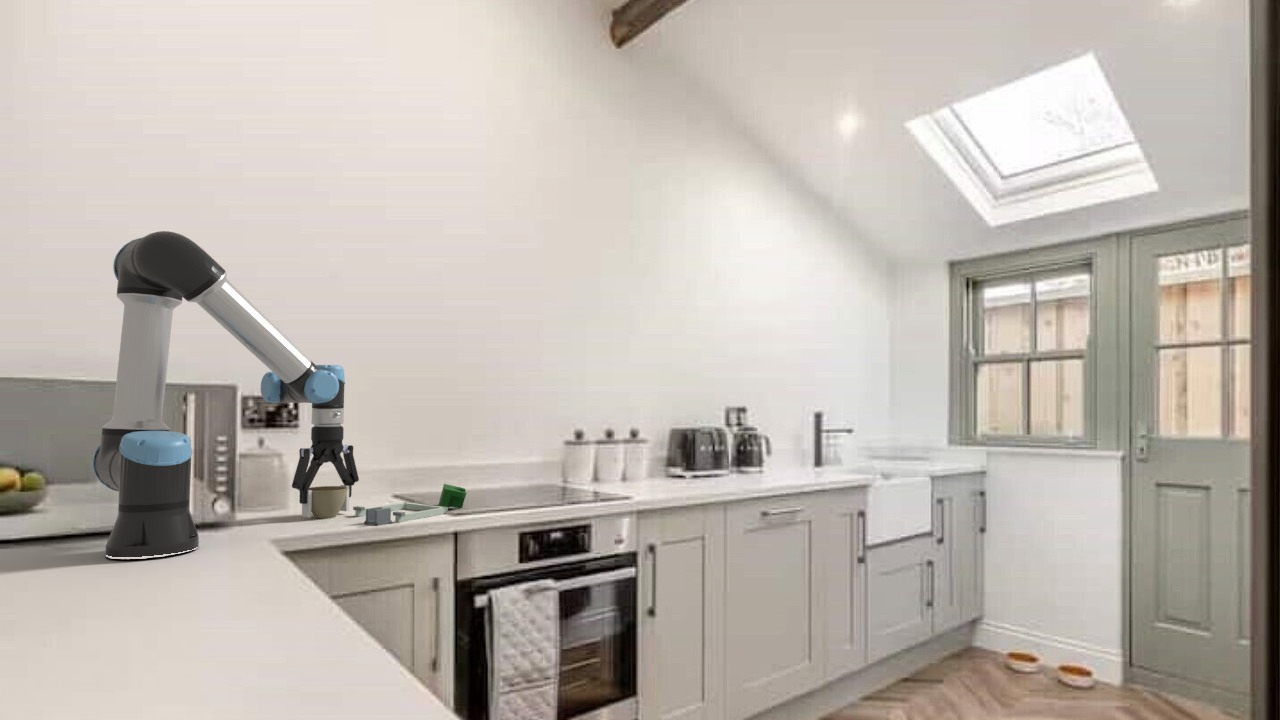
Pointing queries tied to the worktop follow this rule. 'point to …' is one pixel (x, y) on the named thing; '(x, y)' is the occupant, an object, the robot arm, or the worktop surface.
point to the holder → (401, 516)
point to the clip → (378, 516)
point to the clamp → (452, 496)
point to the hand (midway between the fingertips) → (325, 513)
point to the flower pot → (327, 500)
